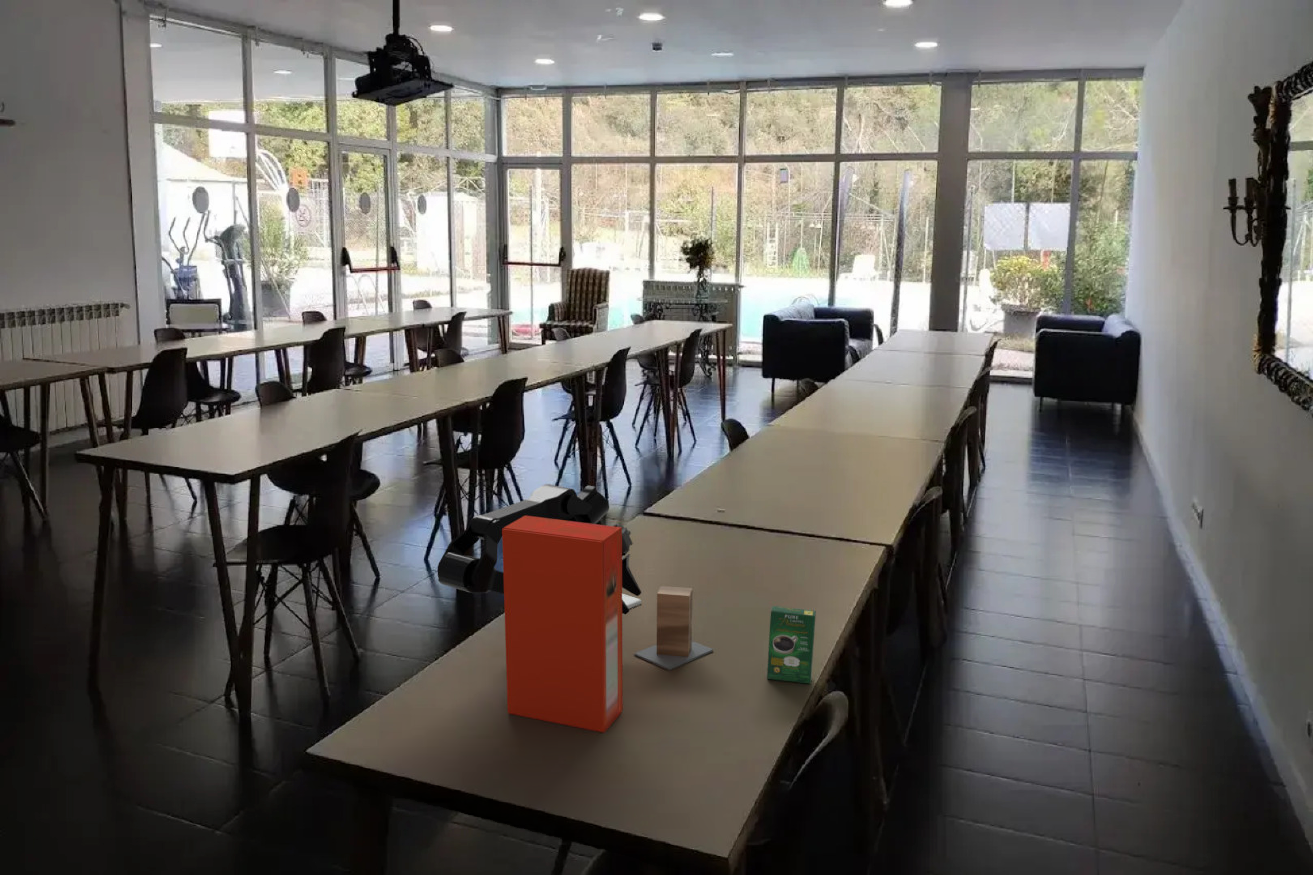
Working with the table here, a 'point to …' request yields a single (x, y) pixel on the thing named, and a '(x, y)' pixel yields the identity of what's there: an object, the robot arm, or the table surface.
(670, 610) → the tall wooden block tower
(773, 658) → the coffee box
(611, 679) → the file binder
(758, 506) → the table surface
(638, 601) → the external hard drive
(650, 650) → the mat
